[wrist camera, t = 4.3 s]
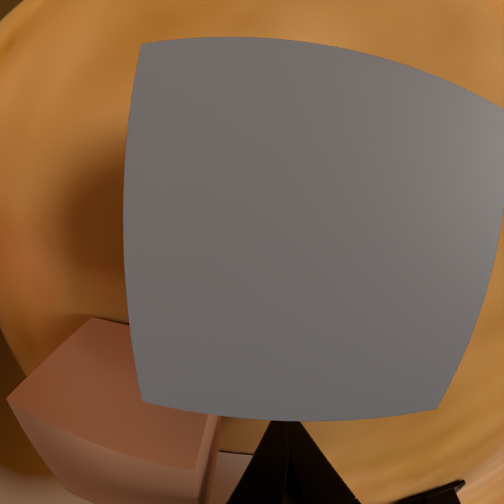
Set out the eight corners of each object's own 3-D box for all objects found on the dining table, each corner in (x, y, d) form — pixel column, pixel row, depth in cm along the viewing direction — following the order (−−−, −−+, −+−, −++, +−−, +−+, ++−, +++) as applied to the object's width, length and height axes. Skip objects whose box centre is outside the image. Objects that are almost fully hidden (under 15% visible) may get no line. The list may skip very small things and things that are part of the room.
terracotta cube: (221, 435, 9) (203, 534, 5) (113, 411, 9) (67, 490, 5) (225, 341, 8) (194, 471, 4) (91, 316, 8) (6, 398, 4)
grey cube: (363, 300, 8) (436, 408, 3) (203, 287, 8) (142, 401, 3) (385, 139, 7) (505, 110, 2) (213, 118, 7) (141, 43, 2)
